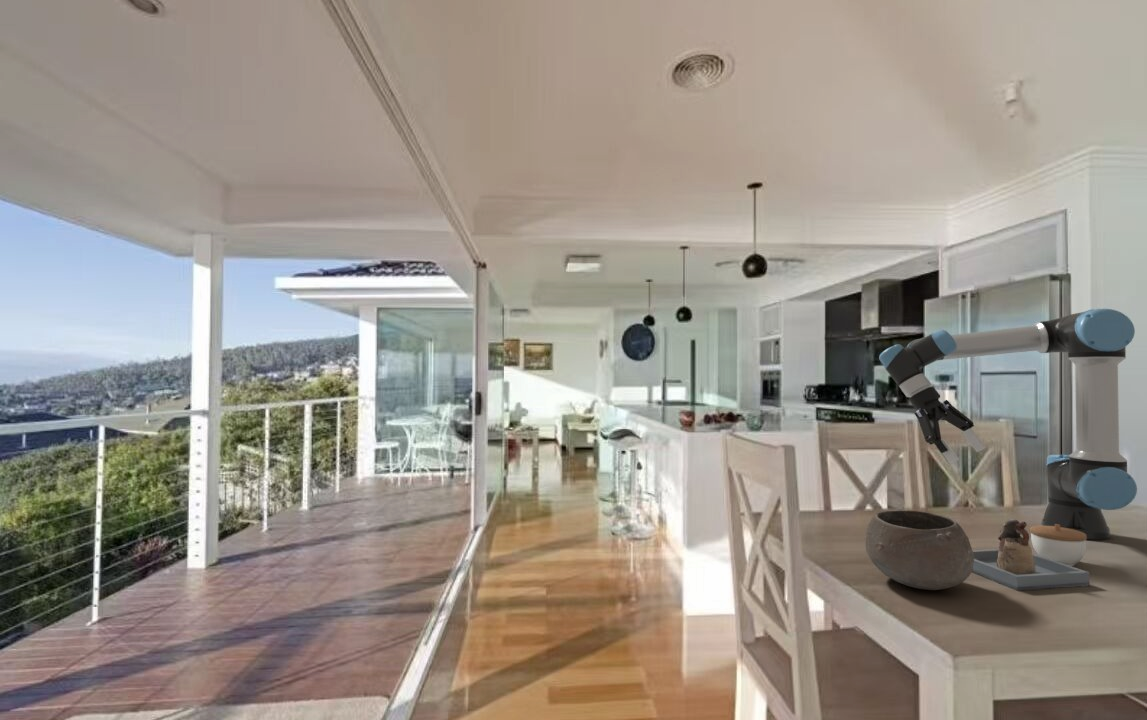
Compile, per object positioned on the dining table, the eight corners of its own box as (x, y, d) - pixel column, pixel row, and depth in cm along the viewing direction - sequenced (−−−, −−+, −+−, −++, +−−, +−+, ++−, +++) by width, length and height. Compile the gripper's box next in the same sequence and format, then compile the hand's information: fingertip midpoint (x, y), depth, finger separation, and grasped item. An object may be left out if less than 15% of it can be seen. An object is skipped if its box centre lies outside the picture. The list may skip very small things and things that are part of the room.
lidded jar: (1037, 565, 137) (1035, 527, 138) (1026, 553, 147) (1025, 517, 147) (1094, 572, 132) (1093, 532, 133) (1079, 559, 142) (1078, 521, 142)
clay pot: (981, 609, 112) (979, 534, 112) (864, 591, 122) (862, 522, 122) (967, 576, 130) (965, 511, 131) (867, 563, 140) (865, 503, 141)
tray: (1015, 560, 142) (1015, 548, 142) (1089, 586, 124) (1089, 572, 124) (951, 563, 139) (951, 551, 139) (1017, 590, 121) (1016, 576, 122)
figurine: (1014, 564, 136) (1013, 515, 136) (1043, 574, 129) (1041, 522, 129) (989, 566, 134) (987, 516, 135) (1017, 576, 127) (1015, 523, 128)
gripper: (934, 390, 175) (981, 450, 166) (884, 406, 164) (931, 472, 154) (954, 378, 169) (1003, 439, 160) (904, 393, 158) (954, 461, 149)
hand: (968, 456), depth 157 cm, fingers open, 13 cm apart
